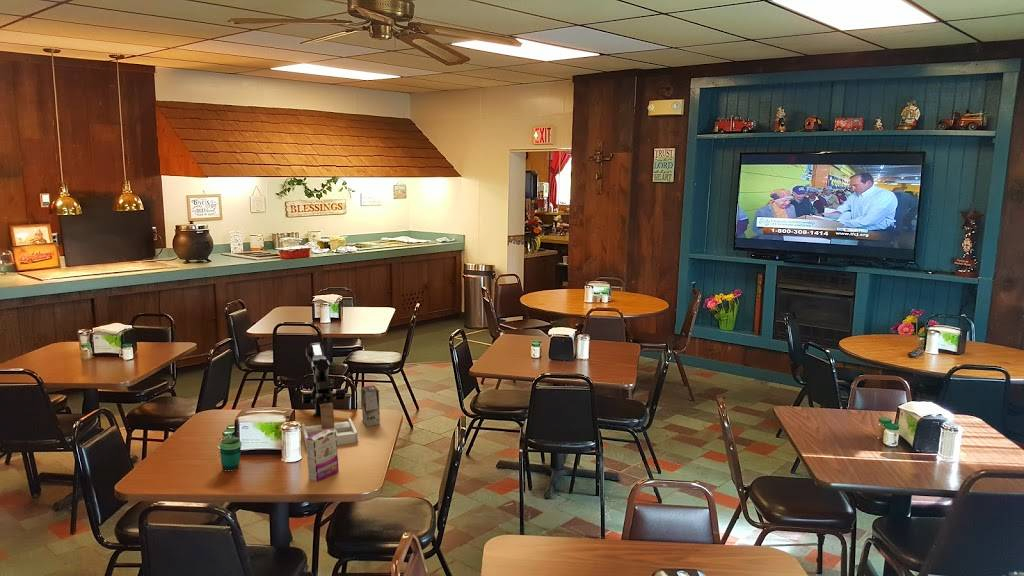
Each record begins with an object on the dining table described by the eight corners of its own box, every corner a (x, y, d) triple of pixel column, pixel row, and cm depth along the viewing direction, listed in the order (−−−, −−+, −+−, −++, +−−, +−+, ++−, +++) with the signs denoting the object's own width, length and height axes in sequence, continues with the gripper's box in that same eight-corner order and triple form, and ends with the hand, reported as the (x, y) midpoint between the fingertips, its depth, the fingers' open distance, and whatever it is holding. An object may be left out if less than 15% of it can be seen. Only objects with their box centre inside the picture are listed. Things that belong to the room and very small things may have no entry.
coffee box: (380, 424, 328) (379, 390, 326) (366, 426, 326) (365, 392, 323) (375, 418, 337) (374, 385, 334) (361, 420, 334) (360, 386, 331)
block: (321, 425, 320) (320, 404, 318) (332, 424, 322) (331, 402, 320) (322, 429, 315) (321, 407, 314) (334, 428, 317) (333, 406, 315)
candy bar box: (329, 469, 279) (327, 428, 276) (339, 471, 276) (336, 430, 274) (307, 479, 269) (305, 437, 267) (317, 482, 267) (314, 440, 264)
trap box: (302, 432, 319) (302, 423, 318) (350, 426, 326) (350, 417, 326) (306, 449, 299) (306, 440, 299) (357, 442, 307) (357, 433, 306)
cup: (238, 463, 285) (235, 434, 283) (247, 469, 280) (245, 439, 278) (217, 469, 280) (215, 440, 278) (226, 475, 274) (224, 445, 272)
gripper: (301, 375, 320) (304, 406, 312) (344, 371, 327) (348, 401, 318) (300, 388, 329) (304, 419, 320) (342, 383, 335) (347, 413, 327)
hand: (326, 413), depth 321 cm, fingers closed
